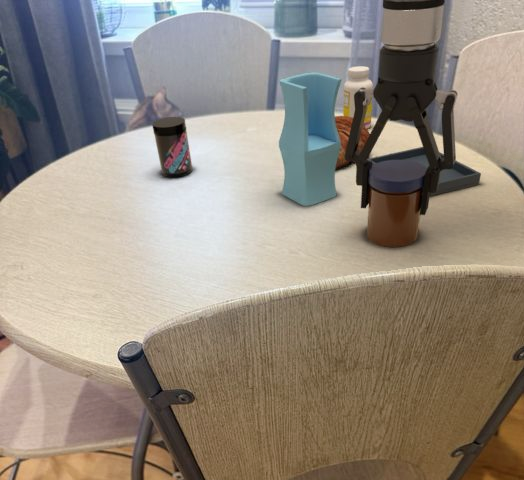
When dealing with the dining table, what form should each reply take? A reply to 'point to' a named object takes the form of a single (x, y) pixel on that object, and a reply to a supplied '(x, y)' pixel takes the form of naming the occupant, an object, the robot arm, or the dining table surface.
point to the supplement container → (172, 146)
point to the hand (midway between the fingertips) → (394, 207)
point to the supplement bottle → (355, 82)
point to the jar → (393, 217)
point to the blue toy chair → (309, 137)
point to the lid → (397, 176)
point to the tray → (449, 178)
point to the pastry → (343, 131)
